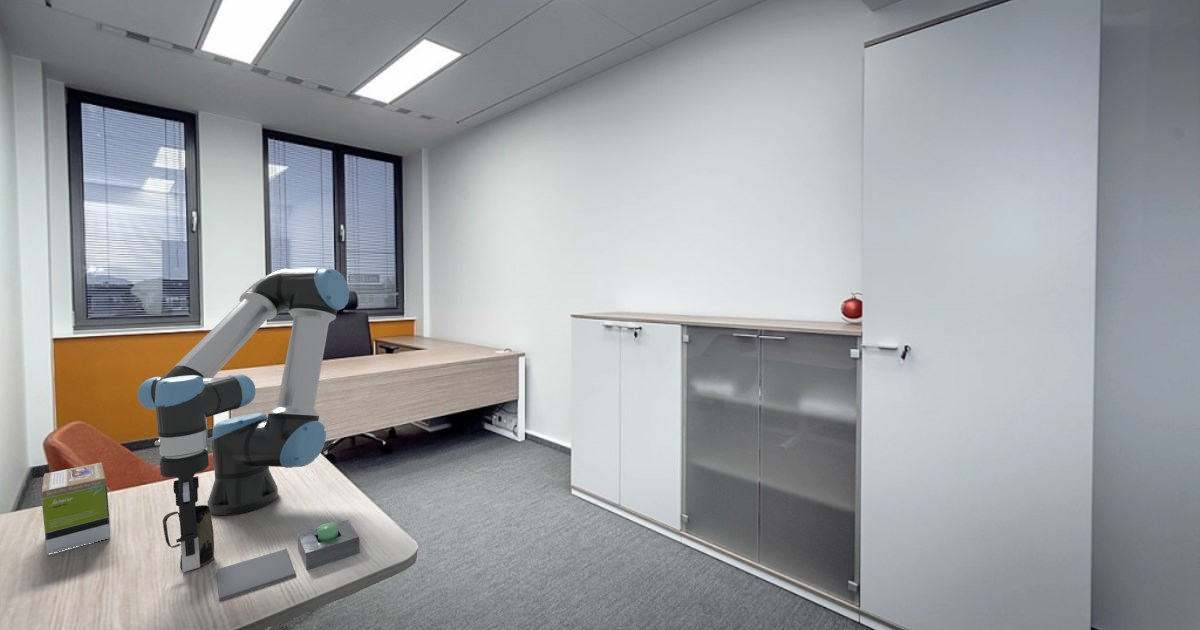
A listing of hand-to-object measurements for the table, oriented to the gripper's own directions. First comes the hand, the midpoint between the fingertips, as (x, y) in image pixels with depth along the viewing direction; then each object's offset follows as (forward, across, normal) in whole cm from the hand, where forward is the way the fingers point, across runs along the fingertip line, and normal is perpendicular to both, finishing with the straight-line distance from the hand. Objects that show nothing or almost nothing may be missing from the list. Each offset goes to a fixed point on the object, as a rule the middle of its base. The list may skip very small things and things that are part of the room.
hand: (191, 562), depth 102 cm
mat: (0, +13, +10) cm, 17 cm away
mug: (+1, 0, 0) cm, 1 cm away
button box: (+1, +13, +23) cm, 26 cm away
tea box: (+1, -32, -20) cm, 38 cm away
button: (-2, +13, +23) cm, 27 cm away
